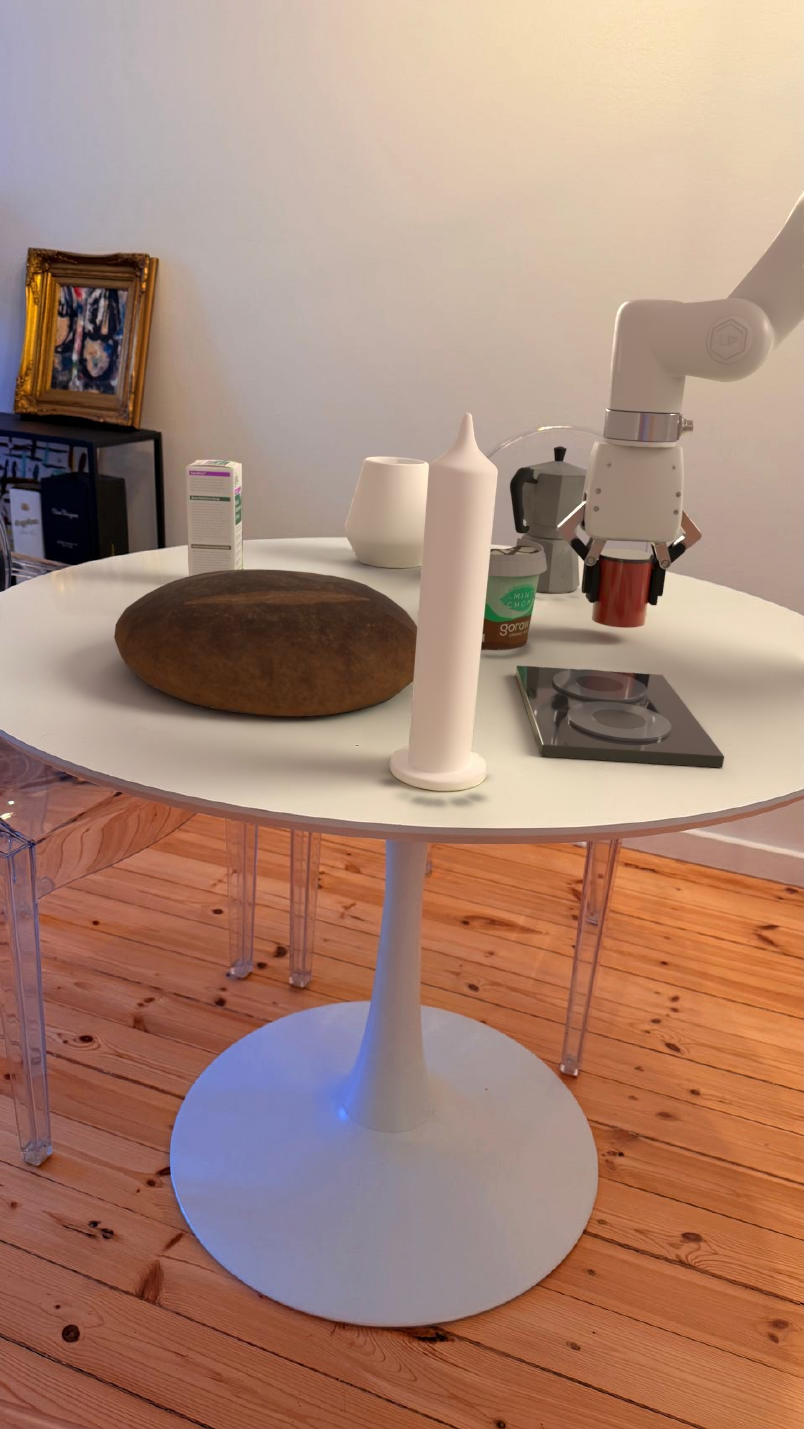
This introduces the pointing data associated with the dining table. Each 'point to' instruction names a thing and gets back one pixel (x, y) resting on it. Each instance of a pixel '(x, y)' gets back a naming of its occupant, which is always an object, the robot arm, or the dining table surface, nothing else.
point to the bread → (270, 642)
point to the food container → (511, 594)
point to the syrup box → (214, 516)
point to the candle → (450, 620)
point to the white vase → (389, 512)
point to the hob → (613, 717)
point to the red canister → (623, 588)
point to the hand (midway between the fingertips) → (620, 599)
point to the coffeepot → (549, 516)
